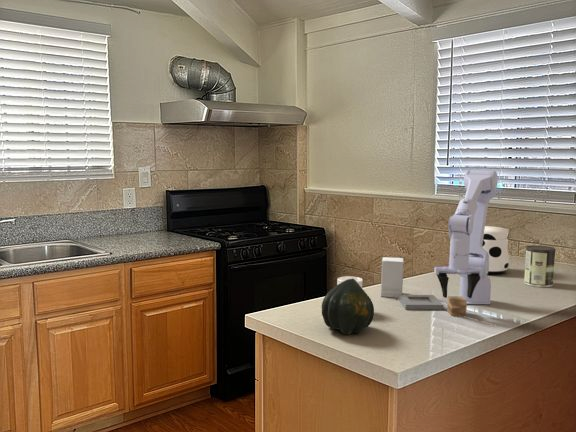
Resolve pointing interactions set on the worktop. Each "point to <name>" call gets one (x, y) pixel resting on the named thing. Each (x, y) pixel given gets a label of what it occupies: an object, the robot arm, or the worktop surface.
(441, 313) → the worktop surface
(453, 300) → the brown block
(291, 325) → the worktop surface
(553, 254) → the coffee can
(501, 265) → the milk container
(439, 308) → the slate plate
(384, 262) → the supplement box
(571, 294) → the worktop surface
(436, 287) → the worktop surface
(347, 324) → the squash
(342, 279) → the white cup
